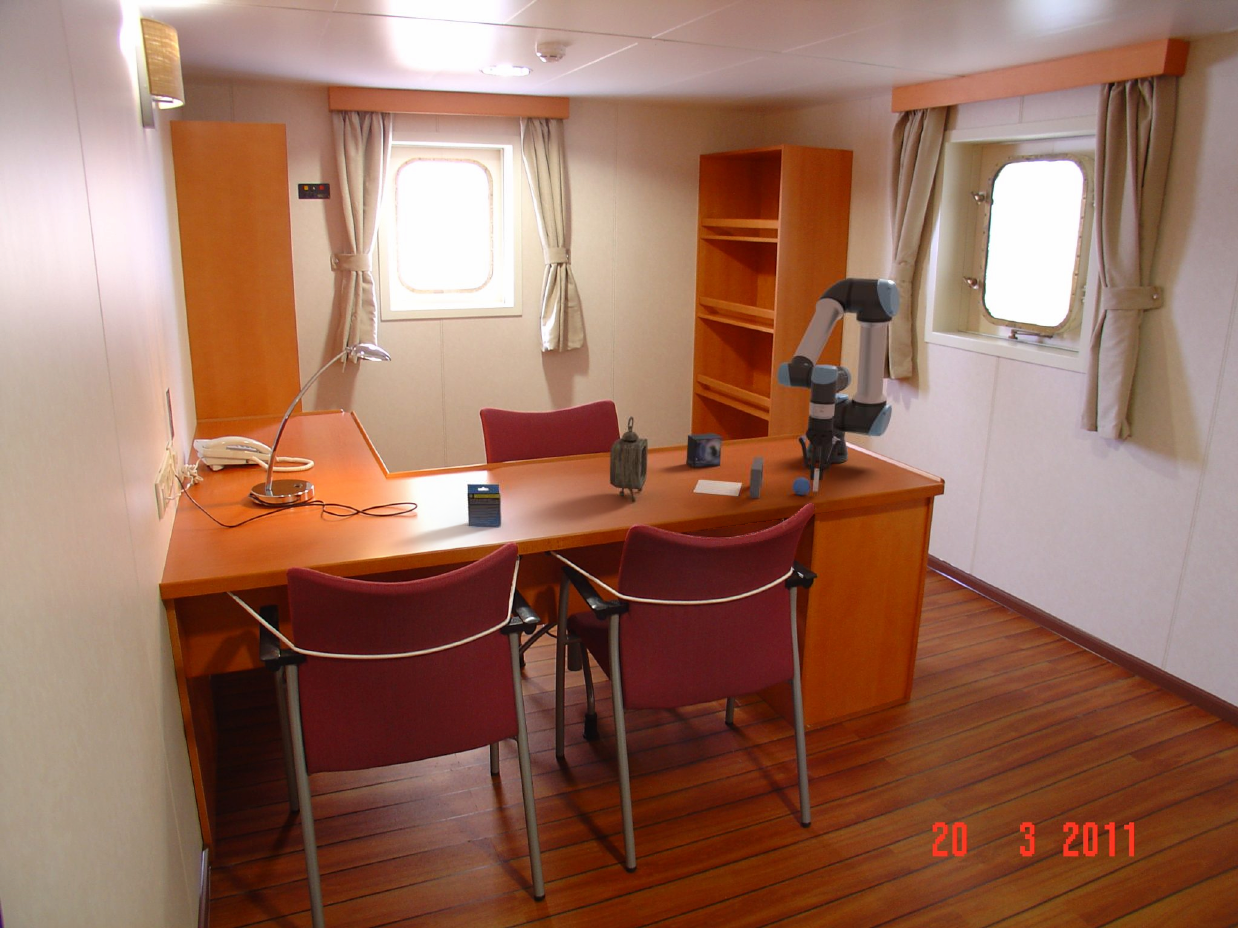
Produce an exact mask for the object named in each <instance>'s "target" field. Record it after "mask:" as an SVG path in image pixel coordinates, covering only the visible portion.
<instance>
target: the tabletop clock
mask: <svg viewBox="0 0 1238 928" xmlns="http://www.w3.org/2000/svg"><path fill="white" fill-rule="evenodd" d="M633 428H634V416H630V417H629V418H628V422H627V430H628V431H626V432H624V433H623V434H622V436H621V438H619V439H616V440H615V441H614V442H613V444H612V445H611V447H610V453H609V454H610V455H609V456H610V457H609V458H610V459H609V484H610V485H611V486H613V487H615V488H616V489H621V490H620V491H619V492H618V493H619V496H620V497H624V495H625V489H627V490H628V491H629V493H630V495H631V498H630V501H631V502H632V503H635V502H636V501H637V497H635V495H634V491H633V490H637V492H639V493H640V492H642V491H643V486H644V485H645V483H646V480H647V475H648V474H647V472H648V439H647V438H639V435H638V434H637V432H636V431H633Z"/></svg>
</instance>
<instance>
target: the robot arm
mask: <svg viewBox="0 0 1238 928" xmlns="http://www.w3.org/2000/svg"><path fill="white" fill-rule="evenodd" d="M899 309H900V292H899V288H898V285H897V284H896V282H894V280H888V279H883V278H861V277H860V278H859V277H847V278H844V279H841V280H838V281H836V282H835V283H833V284H832V285H830V286H829V287H828V288H827V289H826V290H825V291H824V292H823V293H822V294H821V295H820V297H819V298H818V300H817V302H816V304H815V312H814V315H813V317H812V319H811V320H810V322H809V325H808V327H807V329H806V330H805V333H804V335H803V337H802V339H801V341H800V342H799V345H798V347H797V349H796V351H795V352H794V355H793V356H792V358H791V360H790V362H787V361H786V362H785V361H784V362H782V363H781V364H780V365H779V366H778V369H777V382H778V384H779V385H780V386H784V387H789V388H798V389H808V390H810V394H809V395H810V397H809V398H810V399H809V407H808V408H809V409H808V414H809V416H808V420H807V421H808V422H807V430H806V431H805V434H803V435H799V436H798V439H797V440H798V442H799V444H800V445H801V451H802V456H803V462H804V467H805V469H808V470H810V471H809V472H810V473H809V480H810V481H813V482H812V491H813V492H818V491H819V481H820V482H822V481H823V478H824V477H823V476H824V471H825V470H829V469H830V468H831V466H832V465H831V464H837V463H844V462H846V461H848V459H849V451H848V447H847V446H848V445H847V443H846V442H847V441H846V437H845V436H846V433H847V434H848V433H849V434H856V435H863V436H868V437H881V436H883V435H884V434H885V433H886V431H887V429H888V427H889V425H890V422H891V418H892V411H893V407H892V405H891V404H889V403H887V401H888V399H887V396H886V395H884V393H883V392H884V391H883V390H884V377H885V376H884V374H885V361H886V359H885V358H886V347H887V345H886V344H887V329H888V325H889V324H890V323H891V322H892V321H893V318H894V317H895V316H897V315H898V313H899ZM846 313H847V314H849V313H850V314H856V317H855V319H856V322H857V323H858V324H859V325H860V328H859V332H860V333H859V349H858V366H857V367H858V368H857V381H856V382H857V385H856V393H854V394H853V395H852V396H851V399H849V398H850V397H849V394H847V393H839V392H843V391H844V390H846V388H848V387H849V386H850V384H851V383H852V382H851V381H852V374H851V372H850V370H849V369H847V368H846V367H844V366H836V365H831V364H816V363H817V362H818V361H819V358H820V355H821V354H822V352H823V350H824V349H825V348H824V347H825V346H826V344H827V342H828V339H829V338H830V336H831V333H832V332H833V329H834V327H835V326H836V324H837V321H839V320H840V319H841V318H842V317H843V316H844V314H846ZM807 440H808V444H806V442H807ZM809 460H810V462H809ZM816 462H819V464H818V465H819V466H818V467H819V468H816Z"/></svg>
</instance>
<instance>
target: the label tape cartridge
mask: <svg viewBox="0 0 1238 928" xmlns="http://www.w3.org/2000/svg"><path fill="white" fill-rule="evenodd" d="M483 488H484V489H485V490H484V489H483ZM480 489H483V490H480ZM486 489H487V490H486ZM466 494H467V511H468V512H467V515H468V522H467V523H468V527H469V526H476V527H497V526H500V527H501V525H502V498H501V496H502V495H501V493H500V485H499V484H495V483H493V484H488V483H486V484H483V483H482V484H479V483H477V484H475V483H469V484H468V483H467V493H466Z"/></svg>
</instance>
